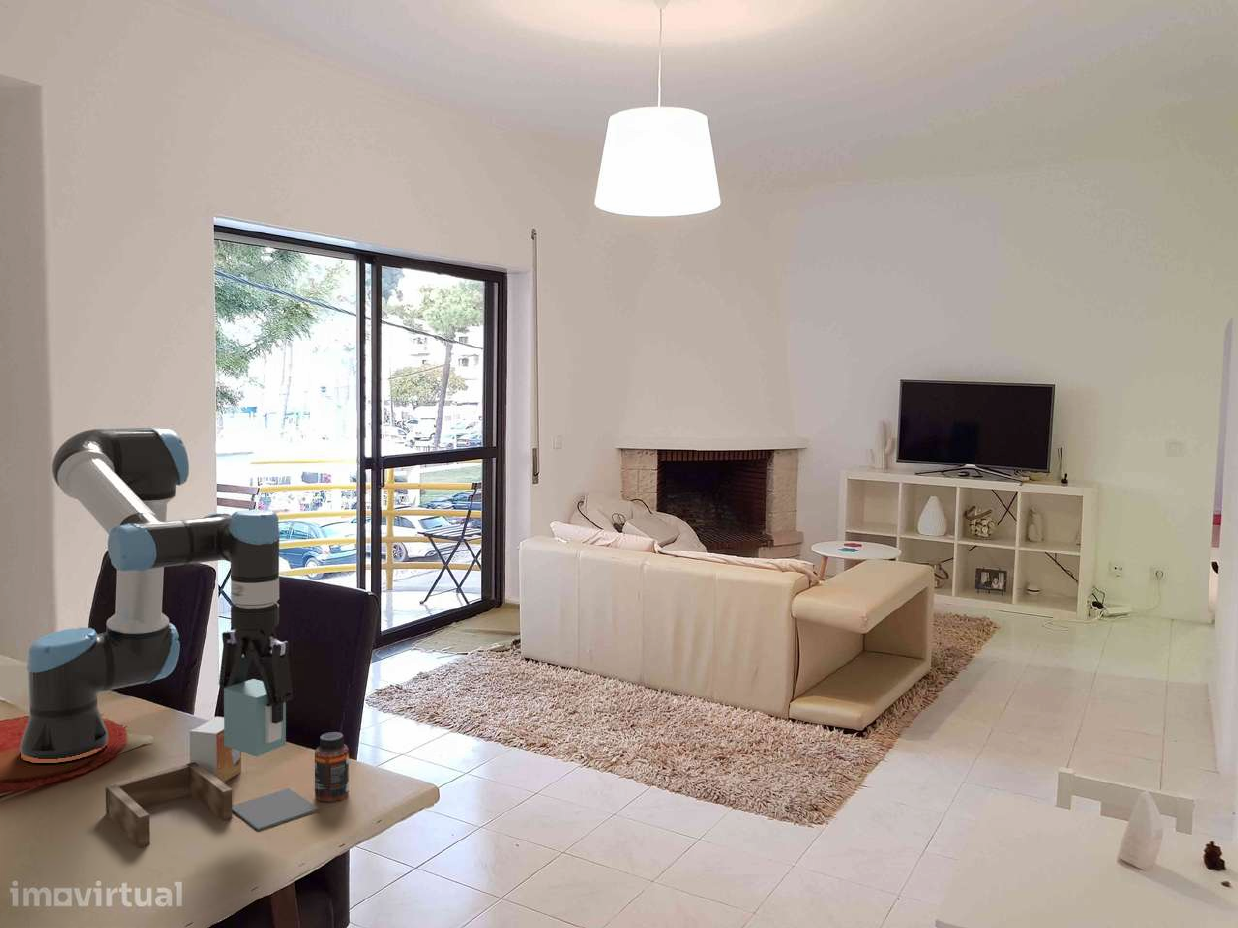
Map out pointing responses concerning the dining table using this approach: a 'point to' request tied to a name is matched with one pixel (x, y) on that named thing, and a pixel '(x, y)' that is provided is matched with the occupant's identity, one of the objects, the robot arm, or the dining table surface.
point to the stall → (163, 797)
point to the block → (248, 718)
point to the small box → (214, 750)
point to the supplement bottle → (331, 768)
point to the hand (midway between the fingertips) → (255, 734)
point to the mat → (273, 809)
